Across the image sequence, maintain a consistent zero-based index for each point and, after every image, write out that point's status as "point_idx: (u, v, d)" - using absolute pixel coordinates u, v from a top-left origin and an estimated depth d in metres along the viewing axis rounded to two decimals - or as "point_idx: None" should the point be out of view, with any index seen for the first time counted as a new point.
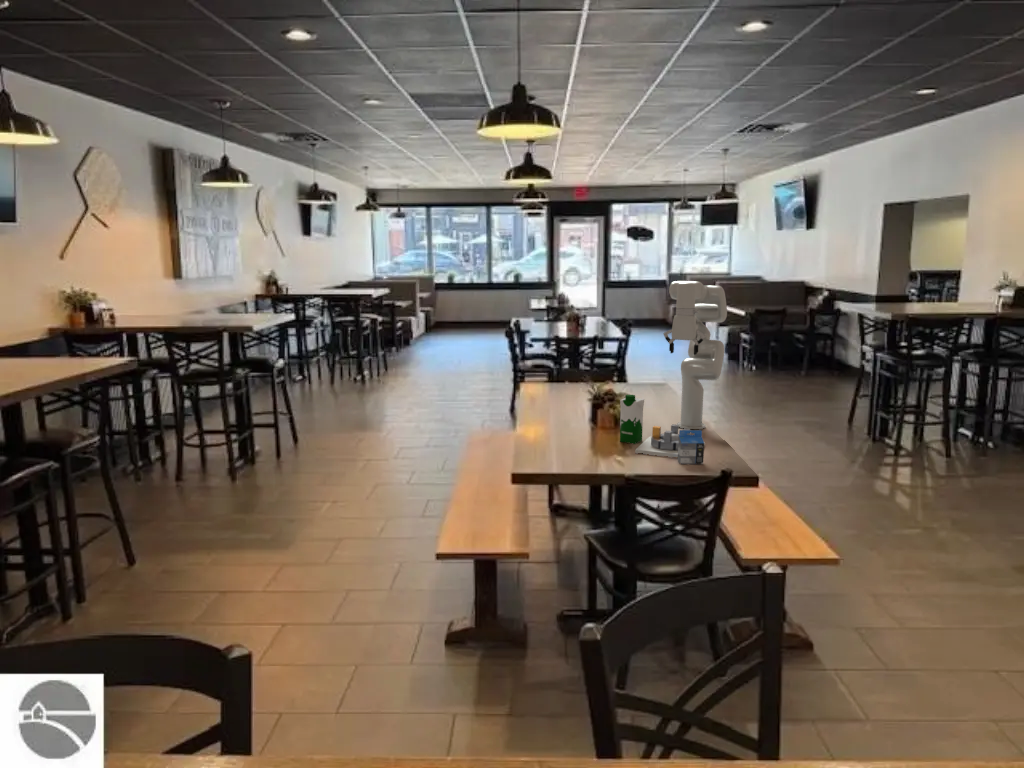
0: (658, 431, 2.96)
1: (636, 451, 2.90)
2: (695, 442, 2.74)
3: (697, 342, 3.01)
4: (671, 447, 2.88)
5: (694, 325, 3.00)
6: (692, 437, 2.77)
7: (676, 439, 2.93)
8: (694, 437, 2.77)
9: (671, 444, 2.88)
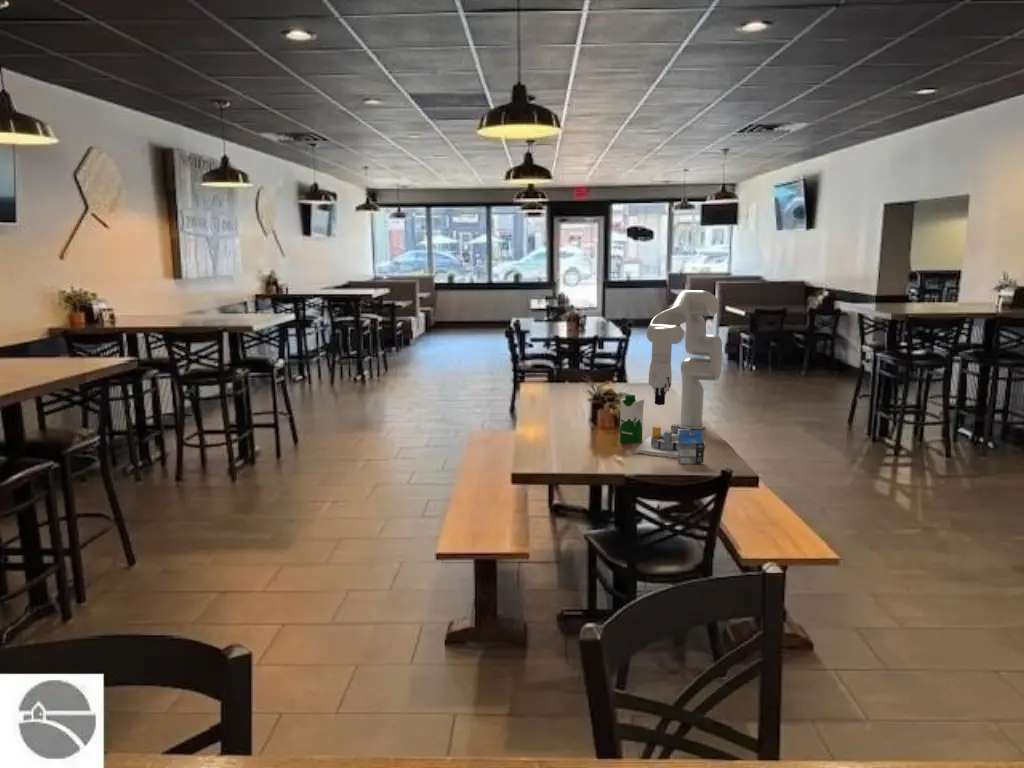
0: (658, 431, 2.96)
1: (636, 451, 2.90)
2: (695, 442, 2.74)
3: None
4: (671, 447, 2.88)
5: None
6: (692, 437, 2.77)
7: (676, 439, 2.93)
8: (694, 437, 2.77)
9: (671, 444, 2.88)
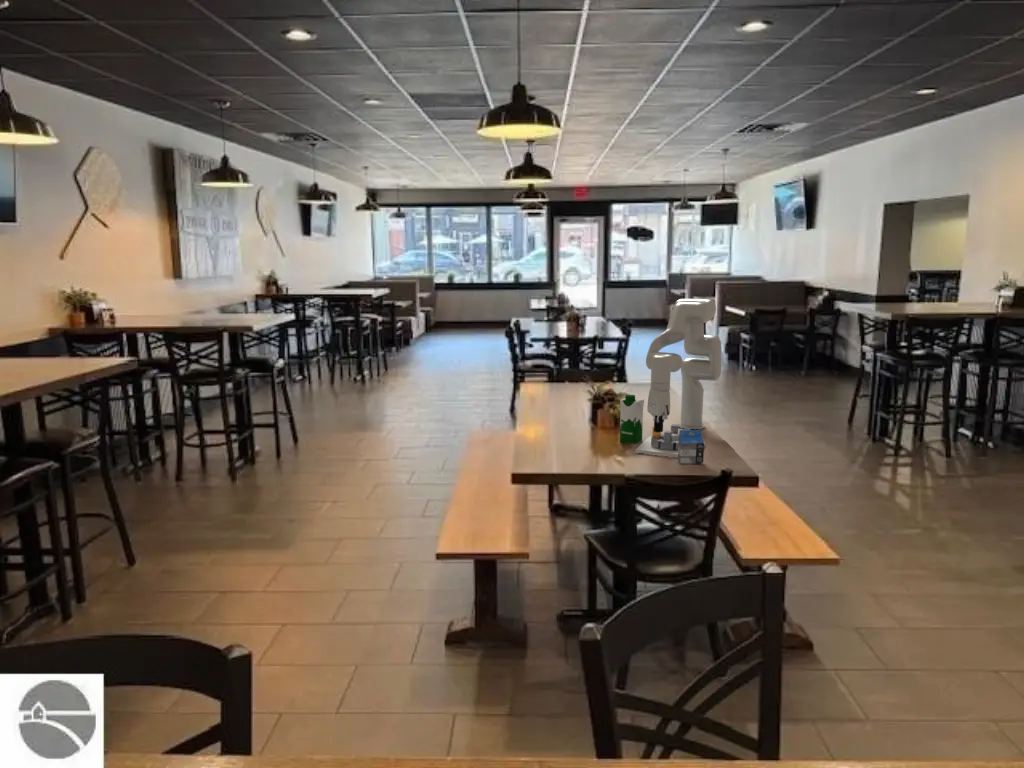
0: None
1: (636, 451, 2.90)
2: (695, 442, 2.74)
3: None
4: (671, 447, 2.88)
5: None
6: (692, 437, 2.77)
7: (676, 439, 2.93)
8: (694, 437, 2.77)
9: (671, 444, 2.88)
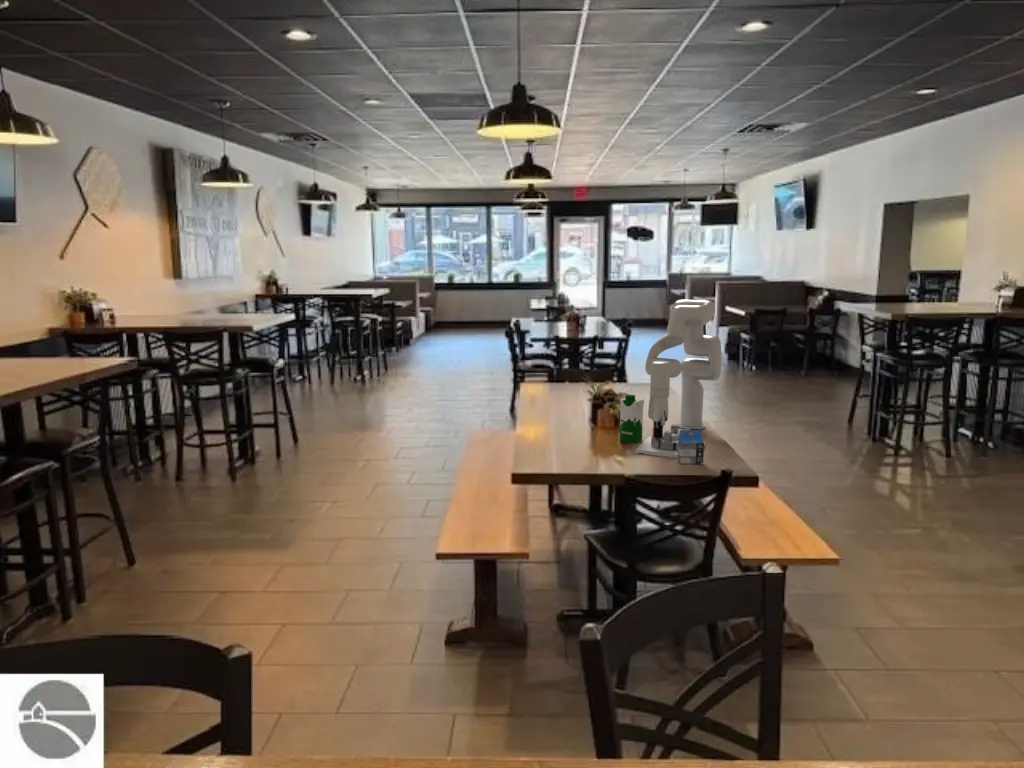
0: None
1: (636, 451, 2.90)
2: (695, 442, 2.74)
3: None
4: (671, 447, 2.88)
5: None
6: (692, 437, 2.77)
7: (676, 439, 2.93)
8: (694, 437, 2.77)
9: (671, 444, 2.88)
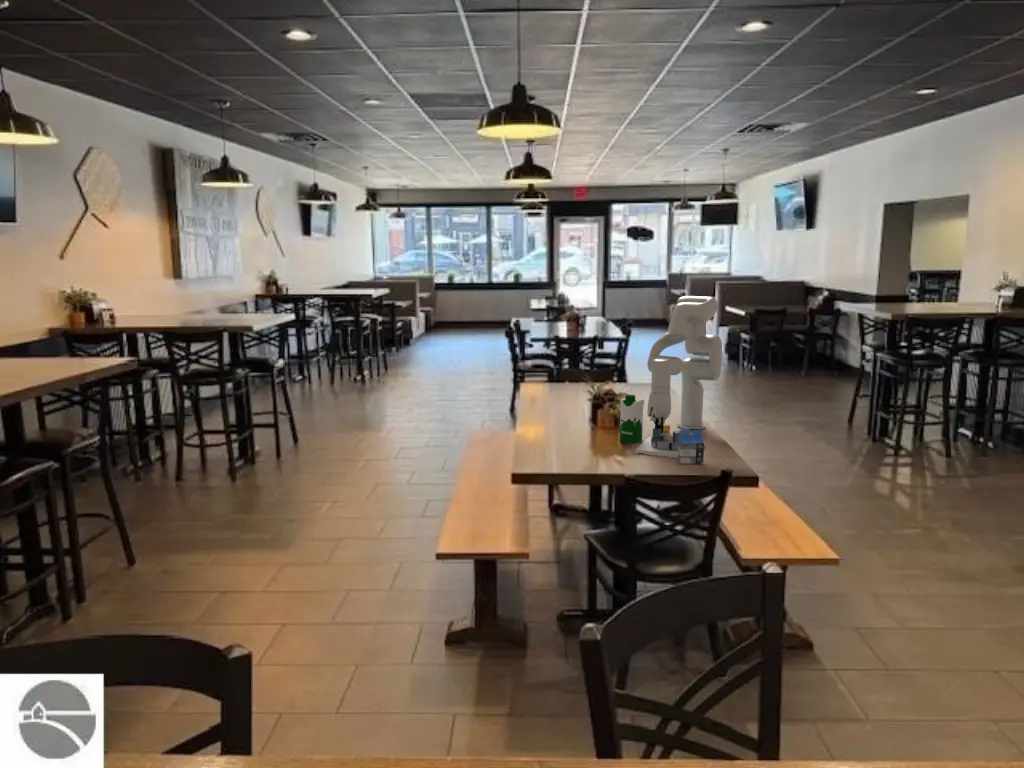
0: (664, 429, 2.99)
1: (636, 451, 2.90)
2: (695, 442, 2.74)
3: (664, 421, 2.98)
4: (654, 444, 2.93)
5: (670, 400, 2.98)
6: (692, 437, 2.77)
7: None
8: (694, 437, 2.77)
9: (654, 441, 2.92)
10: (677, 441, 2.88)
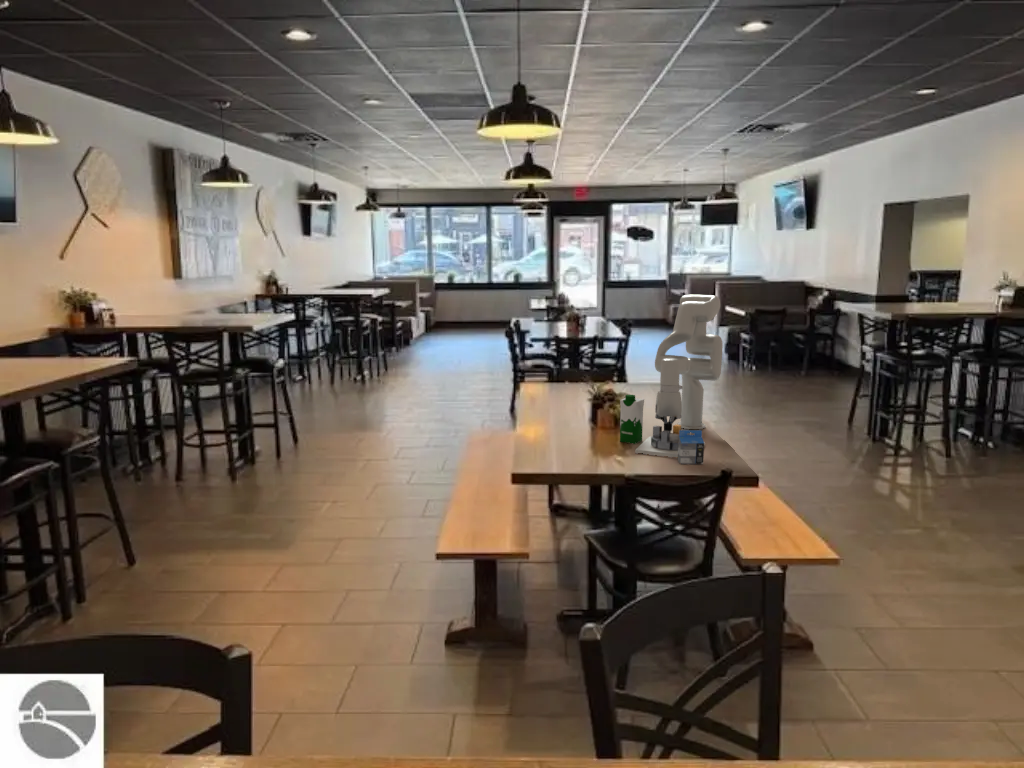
0: (673, 429, 2.99)
1: (636, 451, 2.90)
2: (695, 442, 2.74)
3: (673, 421, 2.99)
4: None
5: (680, 401, 2.97)
6: (692, 437, 2.77)
7: (676, 439, 2.93)
8: (694, 437, 2.77)
9: None
10: (663, 440, 2.89)
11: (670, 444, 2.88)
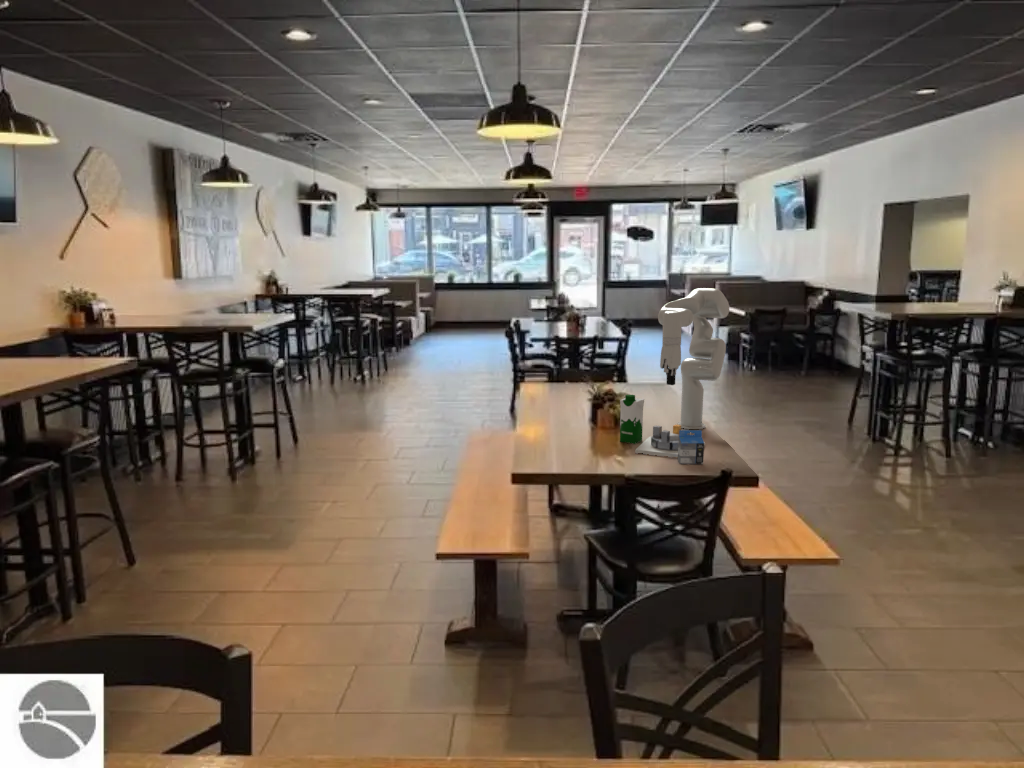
0: (673, 429, 2.99)
1: (636, 451, 2.90)
2: (695, 442, 2.74)
3: (675, 372, 3.05)
4: None
5: (680, 351, 3.04)
6: (692, 437, 2.77)
7: (676, 439, 2.93)
8: (694, 437, 2.77)
9: None
10: (663, 440, 2.89)
11: (670, 444, 2.88)
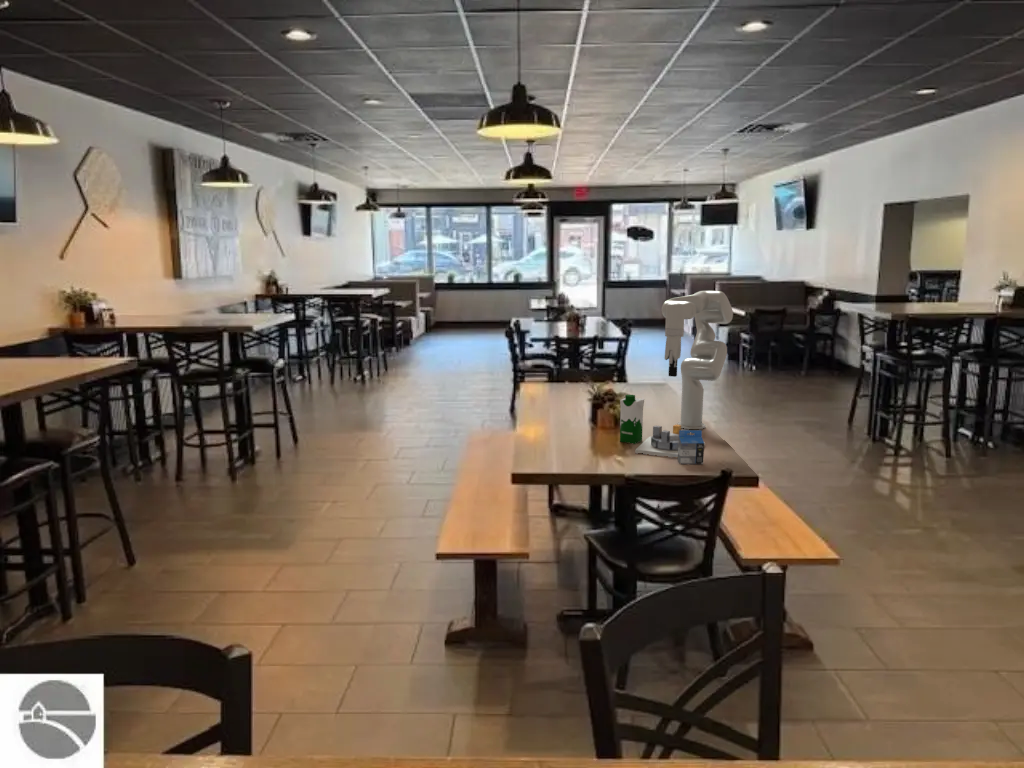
0: (673, 429, 2.99)
1: (636, 451, 2.90)
2: (695, 442, 2.74)
3: None
4: None
5: None
6: (692, 437, 2.77)
7: (676, 439, 2.93)
8: (694, 437, 2.77)
9: None
10: (663, 440, 2.89)
11: (670, 444, 2.88)
